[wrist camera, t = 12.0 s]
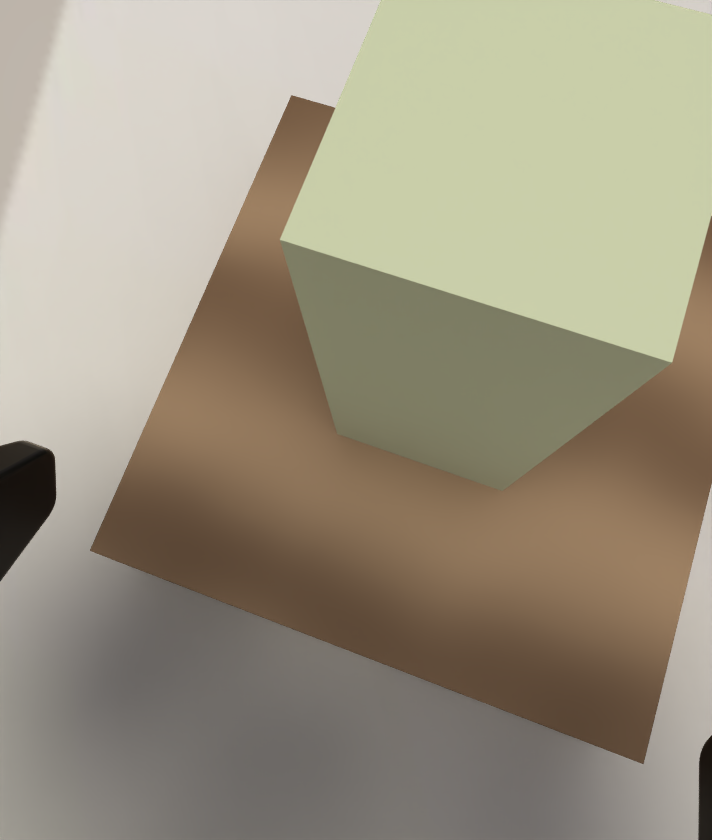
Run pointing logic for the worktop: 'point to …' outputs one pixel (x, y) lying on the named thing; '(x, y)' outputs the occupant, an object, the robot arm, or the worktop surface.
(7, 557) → the robot arm
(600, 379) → the block
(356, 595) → the base
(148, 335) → the worktop surface
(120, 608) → the worktop surface
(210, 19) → the worktop surface
